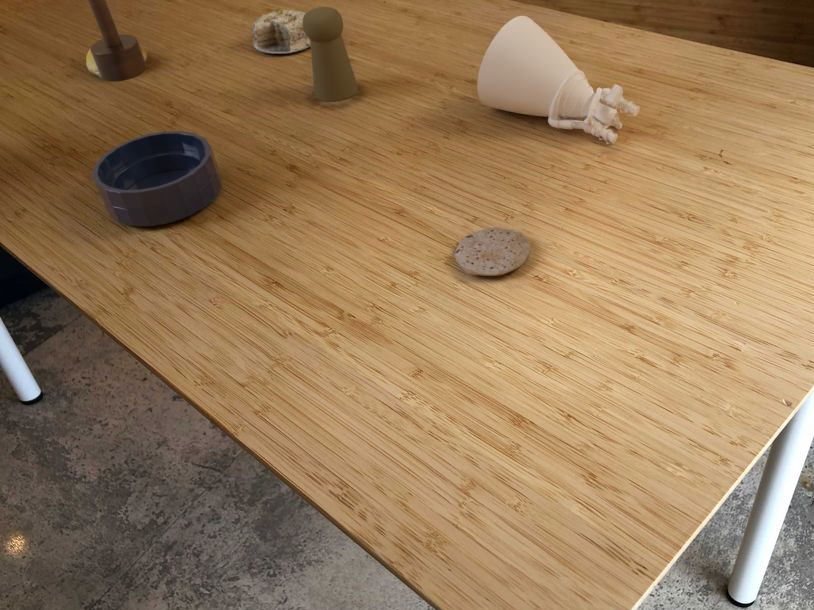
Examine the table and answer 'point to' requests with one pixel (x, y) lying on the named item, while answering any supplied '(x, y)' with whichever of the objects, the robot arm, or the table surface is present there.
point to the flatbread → (492, 251)
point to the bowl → (157, 178)
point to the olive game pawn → (329, 55)
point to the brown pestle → (115, 48)
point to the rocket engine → (545, 82)
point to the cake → (280, 32)
